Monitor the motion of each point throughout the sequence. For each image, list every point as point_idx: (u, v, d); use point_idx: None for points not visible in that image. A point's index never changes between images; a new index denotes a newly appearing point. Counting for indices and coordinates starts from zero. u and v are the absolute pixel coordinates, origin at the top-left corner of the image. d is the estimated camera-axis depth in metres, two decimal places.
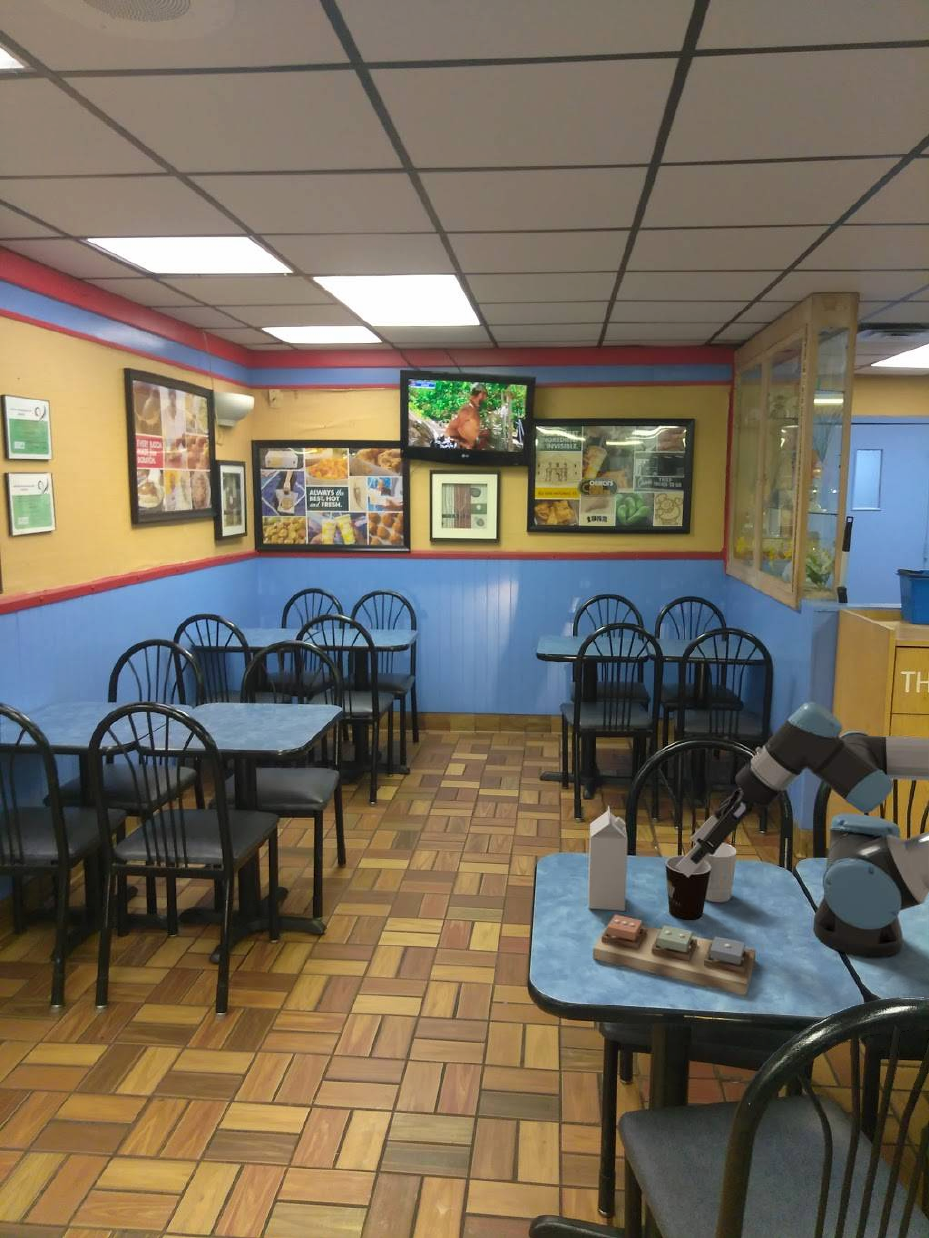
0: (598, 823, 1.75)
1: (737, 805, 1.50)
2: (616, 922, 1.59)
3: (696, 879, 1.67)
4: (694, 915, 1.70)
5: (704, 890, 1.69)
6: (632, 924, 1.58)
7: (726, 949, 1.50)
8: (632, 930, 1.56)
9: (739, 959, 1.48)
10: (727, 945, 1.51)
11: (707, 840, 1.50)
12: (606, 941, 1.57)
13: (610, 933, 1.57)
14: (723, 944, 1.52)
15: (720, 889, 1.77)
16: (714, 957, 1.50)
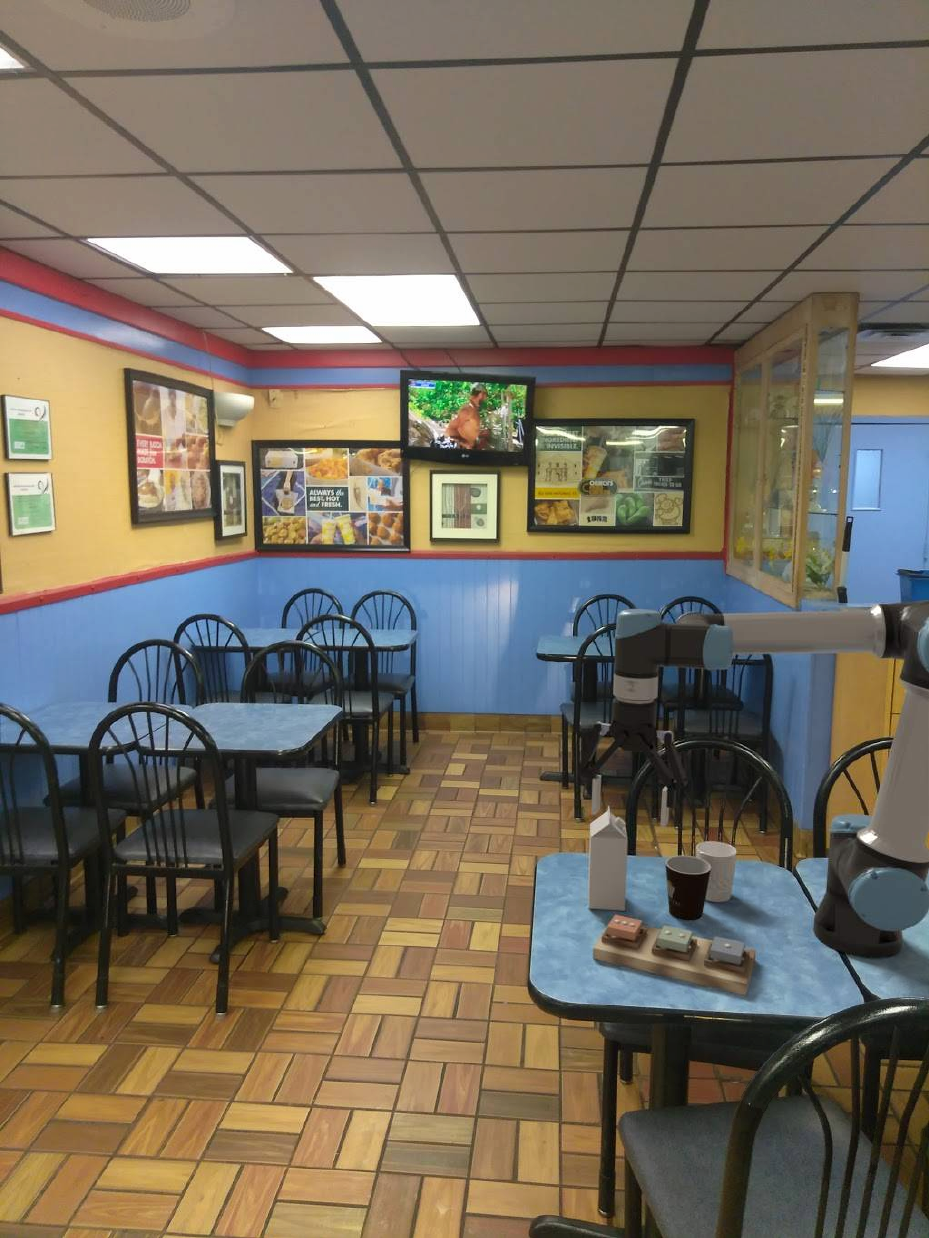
0: (598, 823, 1.75)
1: (671, 735, 1.50)
2: (616, 922, 1.59)
3: (696, 879, 1.67)
4: (694, 915, 1.70)
5: (704, 890, 1.69)
6: (632, 924, 1.58)
7: (726, 949, 1.50)
8: (632, 930, 1.56)
9: (739, 959, 1.48)
10: (727, 945, 1.51)
11: (683, 779, 1.50)
12: (606, 941, 1.57)
13: (610, 933, 1.57)
14: (723, 944, 1.52)
15: (720, 889, 1.77)
16: (714, 957, 1.50)
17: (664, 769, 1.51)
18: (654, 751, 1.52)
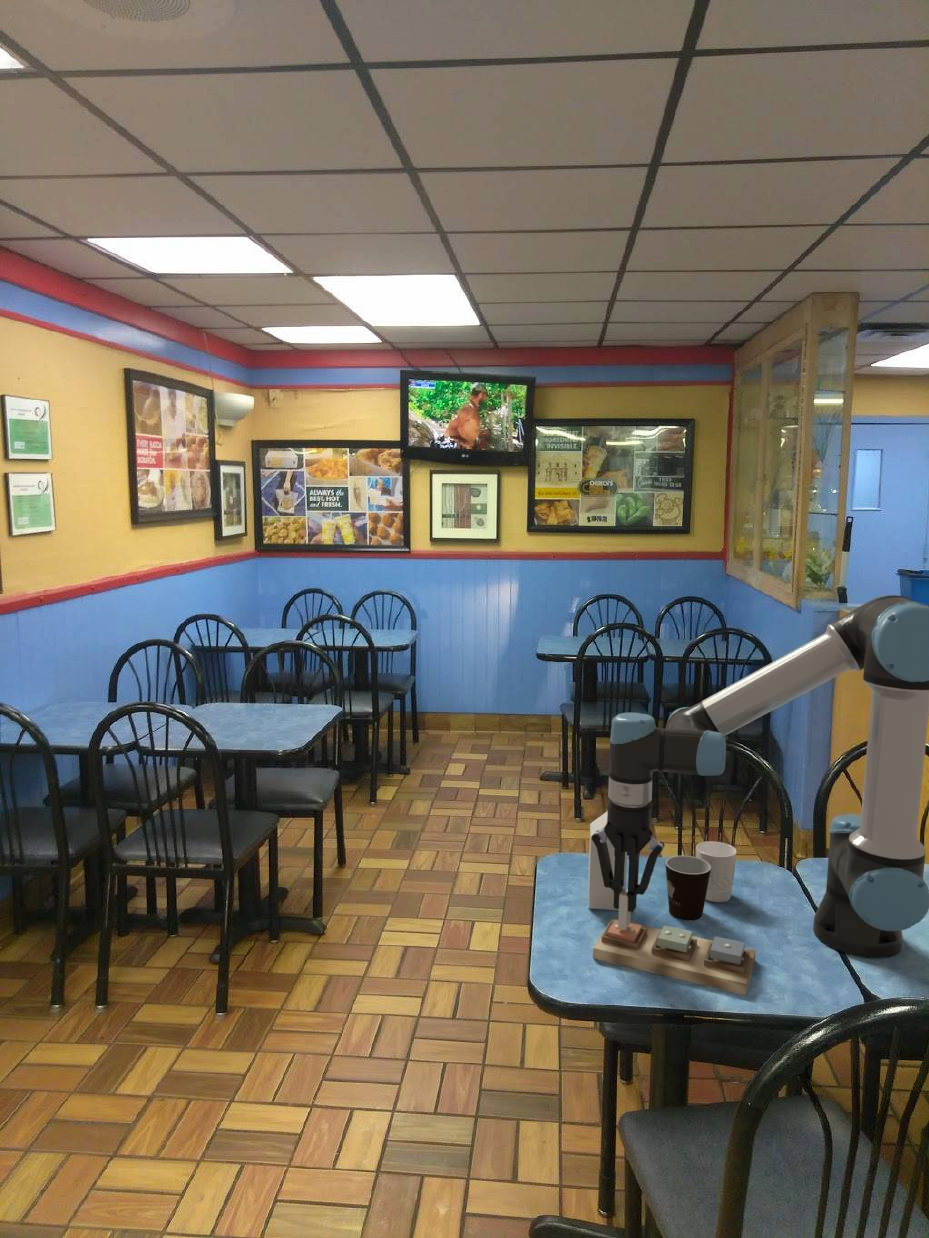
0: (598, 823, 1.75)
1: (661, 850, 1.53)
2: (616, 927, 1.59)
3: (696, 879, 1.67)
4: (694, 915, 1.70)
5: (704, 890, 1.69)
6: (632, 929, 1.58)
7: (726, 949, 1.50)
8: (631, 936, 1.56)
9: (739, 959, 1.48)
10: (727, 945, 1.51)
11: (646, 888, 1.55)
12: (606, 941, 1.57)
13: None
14: (723, 944, 1.52)
15: (720, 889, 1.77)
16: (714, 957, 1.50)
17: (636, 876, 1.56)
18: (637, 856, 1.56)
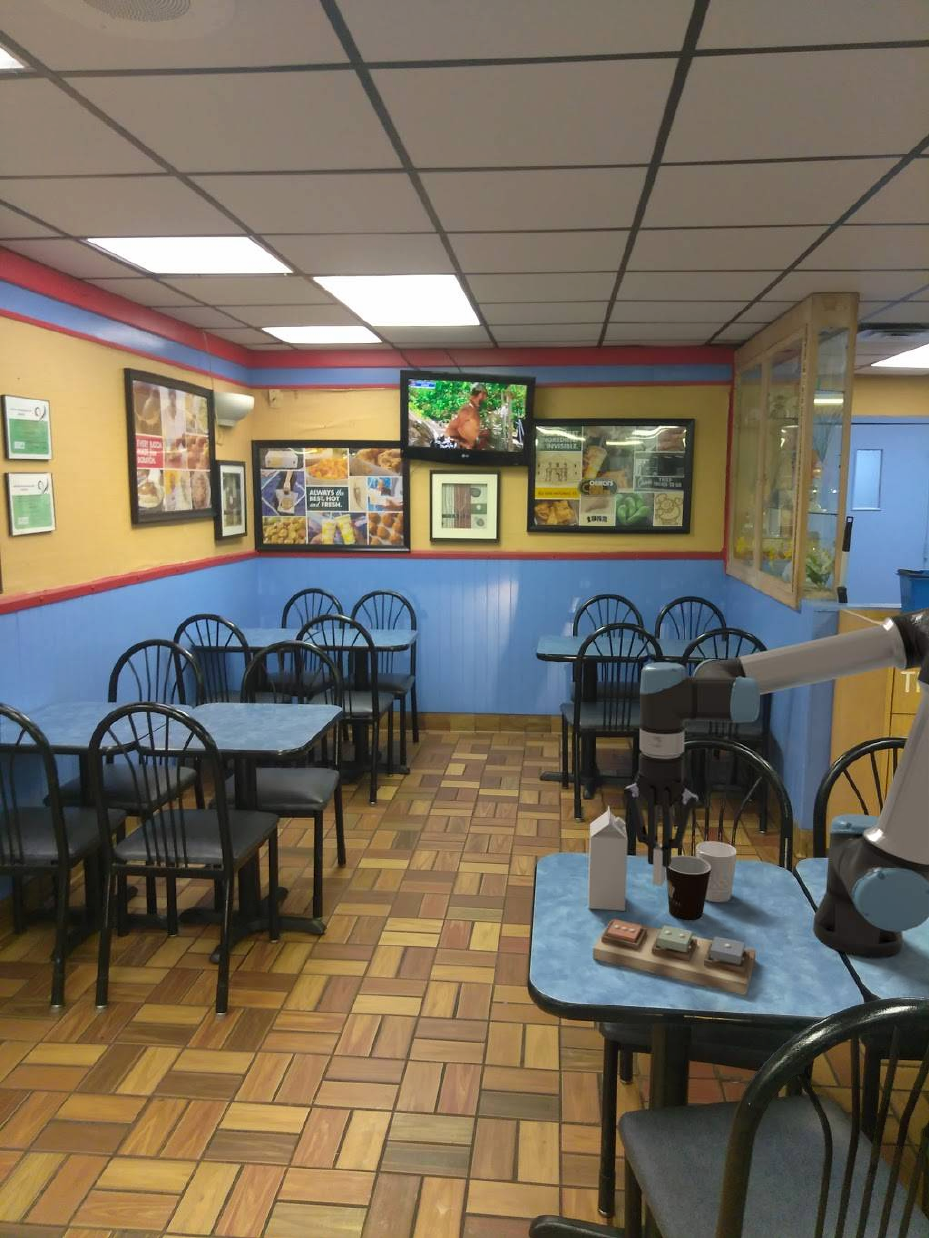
0: (598, 823, 1.75)
1: (696, 801, 1.49)
2: (616, 928, 1.59)
3: (696, 879, 1.67)
4: (694, 915, 1.70)
5: (704, 890, 1.69)
6: (632, 930, 1.58)
7: (726, 949, 1.50)
8: (631, 936, 1.56)
9: (739, 959, 1.48)
10: (727, 945, 1.51)
11: (681, 841, 1.51)
12: (606, 941, 1.57)
13: None
14: (723, 944, 1.52)
15: (720, 889, 1.77)
16: (714, 957, 1.50)
17: (670, 829, 1.52)
18: (671, 809, 1.52)
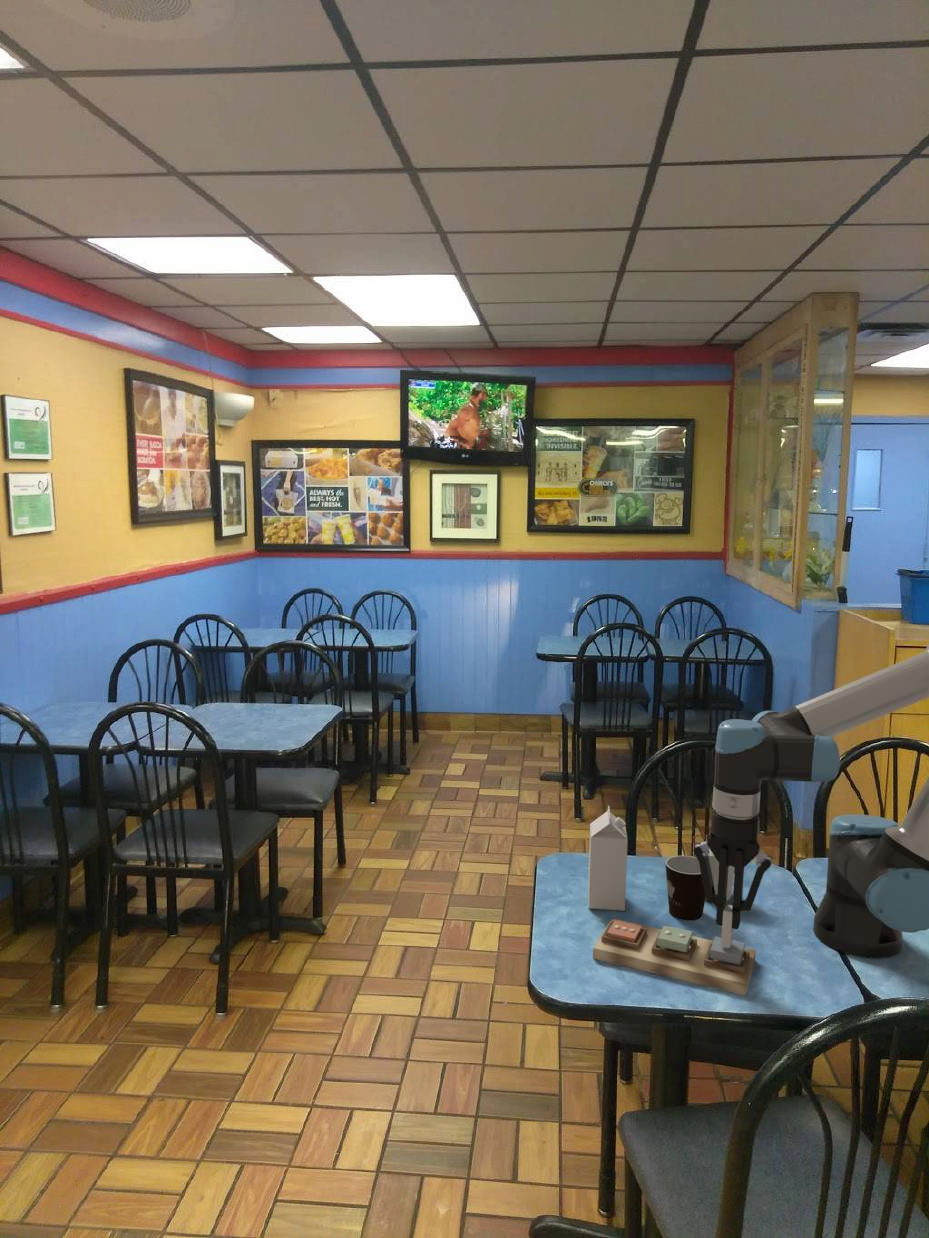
0: (598, 823, 1.75)
1: (770, 864, 1.45)
2: (616, 928, 1.59)
3: (696, 879, 1.67)
4: (694, 915, 1.70)
5: None
6: (632, 930, 1.58)
7: (726, 949, 1.50)
8: (631, 936, 1.56)
9: (739, 959, 1.48)
10: None
11: (752, 904, 1.47)
12: (606, 941, 1.57)
13: None
14: None
15: None
16: (714, 957, 1.50)
17: (741, 891, 1.48)
18: (743, 870, 1.48)
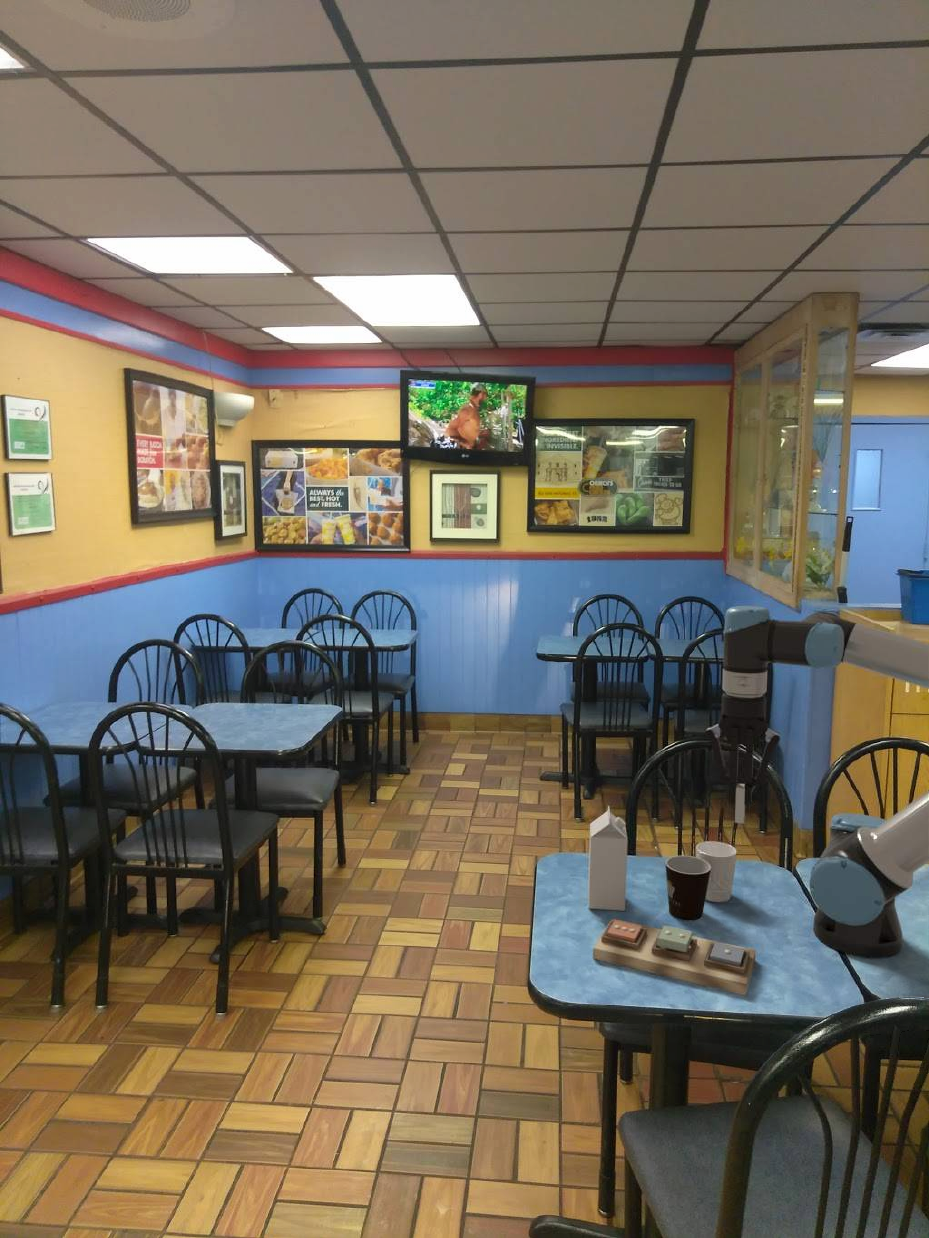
0: (598, 823, 1.75)
1: (779, 739, 1.54)
2: (616, 928, 1.59)
3: (696, 879, 1.67)
4: (694, 915, 1.70)
5: (704, 890, 1.69)
6: (632, 930, 1.58)
7: (726, 955, 1.50)
8: (631, 936, 1.56)
9: (739, 965, 1.48)
10: (727, 951, 1.51)
11: (763, 779, 1.56)
12: (606, 941, 1.57)
13: None
14: (723, 950, 1.52)
15: (720, 889, 1.77)
16: None
17: (752, 768, 1.57)
18: None
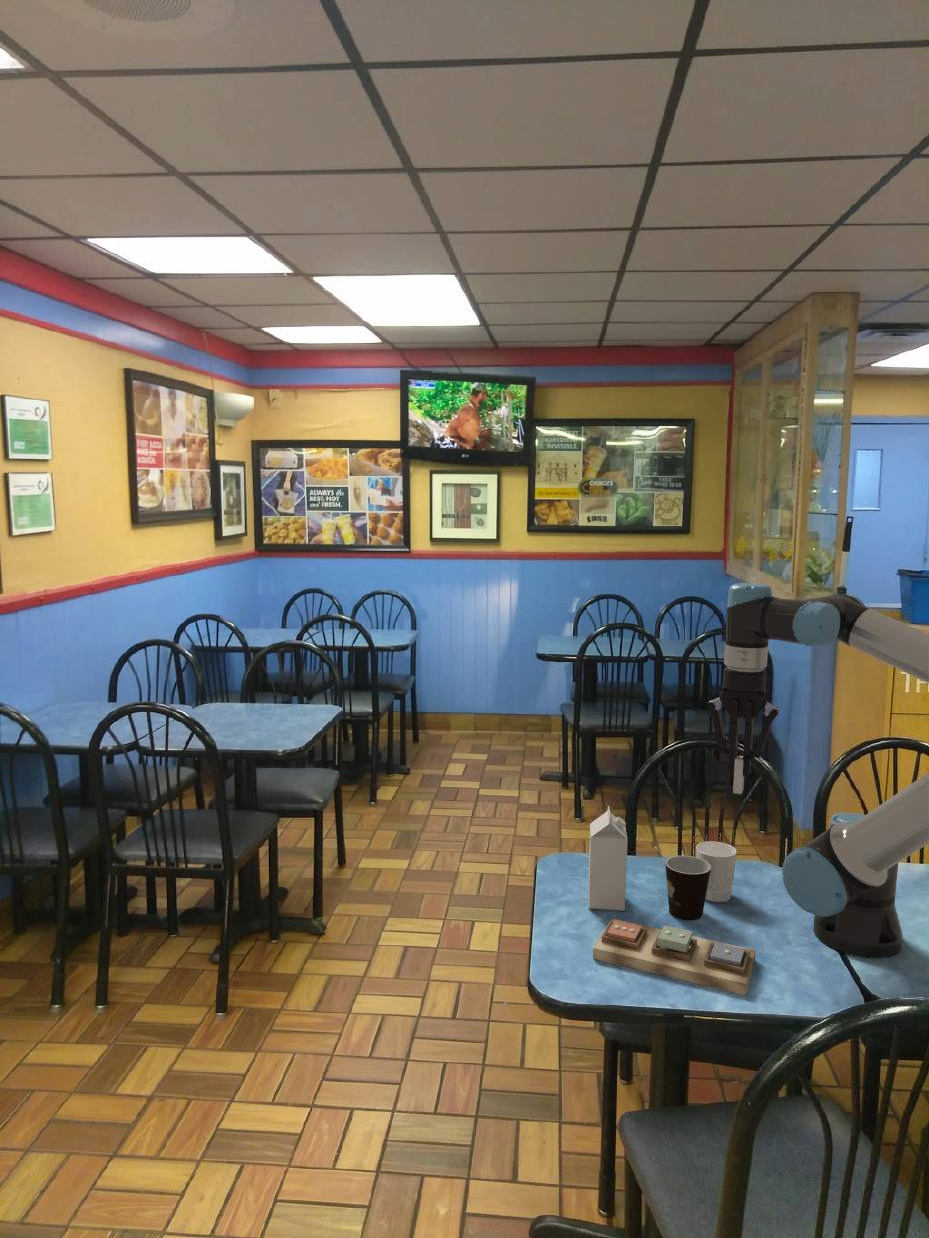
0: (598, 823, 1.75)
1: None
2: (616, 928, 1.59)
3: (696, 879, 1.67)
4: (694, 915, 1.70)
5: (704, 890, 1.69)
6: (632, 930, 1.58)
7: (726, 955, 1.50)
8: (631, 936, 1.56)
9: (739, 965, 1.48)
10: (727, 951, 1.51)
11: (761, 751, 1.61)
12: (606, 941, 1.57)
13: None
14: (723, 950, 1.52)
15: (720, 889, 1.77)
16: None
17: (751, 740, 1.62)
18: (752, 721, 1.62)
